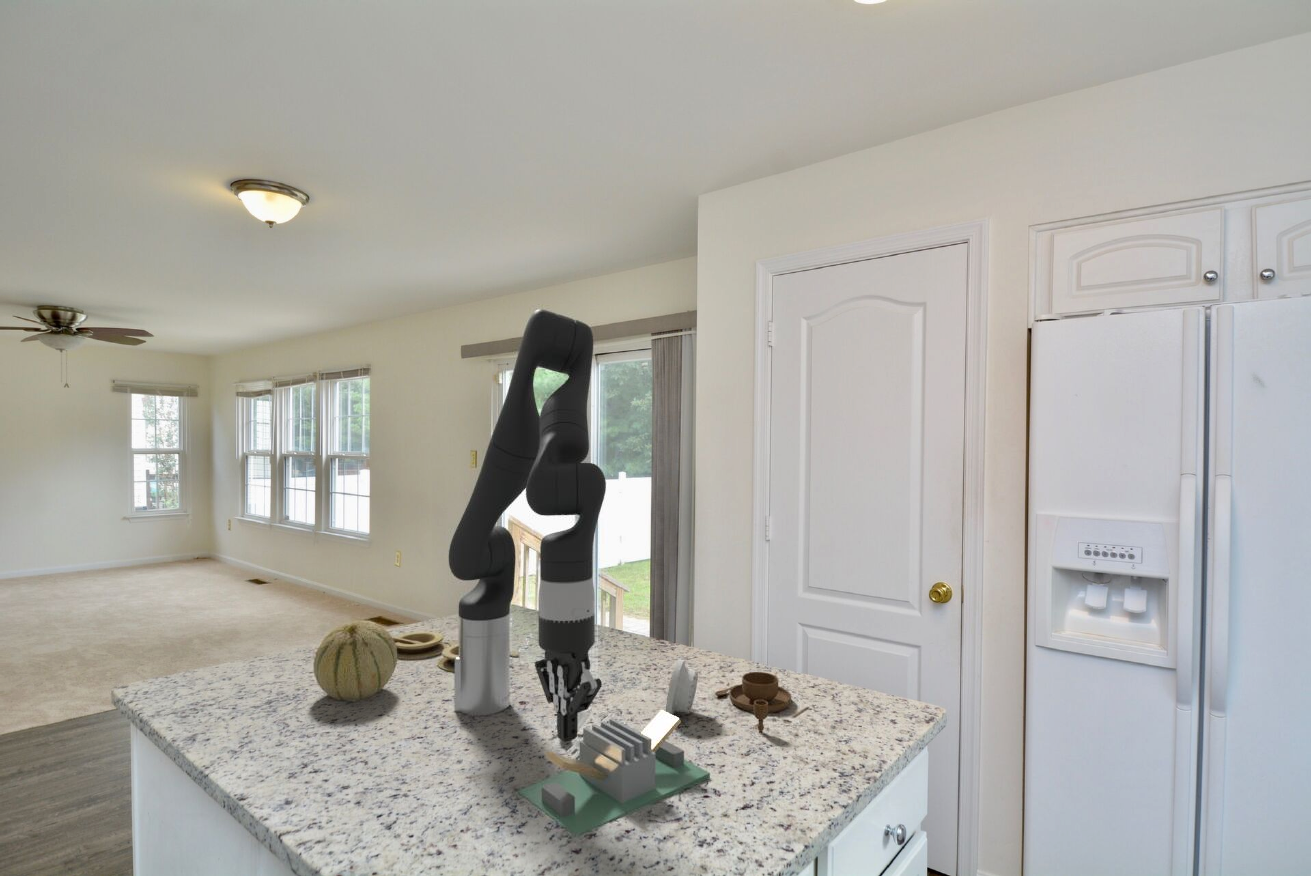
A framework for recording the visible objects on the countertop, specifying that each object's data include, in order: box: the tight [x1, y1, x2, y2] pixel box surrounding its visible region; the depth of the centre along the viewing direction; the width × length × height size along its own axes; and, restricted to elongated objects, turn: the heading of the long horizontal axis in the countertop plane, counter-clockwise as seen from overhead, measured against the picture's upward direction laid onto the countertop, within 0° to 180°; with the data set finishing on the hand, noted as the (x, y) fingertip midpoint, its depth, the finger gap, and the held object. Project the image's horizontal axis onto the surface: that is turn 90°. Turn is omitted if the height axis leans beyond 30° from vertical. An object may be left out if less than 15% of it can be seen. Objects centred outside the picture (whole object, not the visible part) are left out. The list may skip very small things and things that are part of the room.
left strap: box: [544, 750, 606, 781], centre depth 94 cm, size 8×4×1 cm, turn 131°
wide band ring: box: [547, 706, 627, 760], centre depth 114 cm, size 18×10×6 cm
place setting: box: [714, 671, 810, 734], centre depth 129 cm, size 18×20×6 cm
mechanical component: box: [665, 658, 699, 716], centre depth 125 cm, size 10×4×10 cm, turn 168°
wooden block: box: [640, 709, 682, 753], centre depth 104 cm, size 8×4×1 cm, turn 131°
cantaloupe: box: [313, 620, 398, 702], centre depth 132 cm, size 15×15×15 cm
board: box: [517, 717, 711, 837], centre depth 99 cm, size 24×14×8 cm, turn 131°
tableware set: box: [391, 630, 520, 673], centre depth 157 cm, size 30×20×6 cm, turn 61°
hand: (567, 738), depth 93 cm, fingers closed
